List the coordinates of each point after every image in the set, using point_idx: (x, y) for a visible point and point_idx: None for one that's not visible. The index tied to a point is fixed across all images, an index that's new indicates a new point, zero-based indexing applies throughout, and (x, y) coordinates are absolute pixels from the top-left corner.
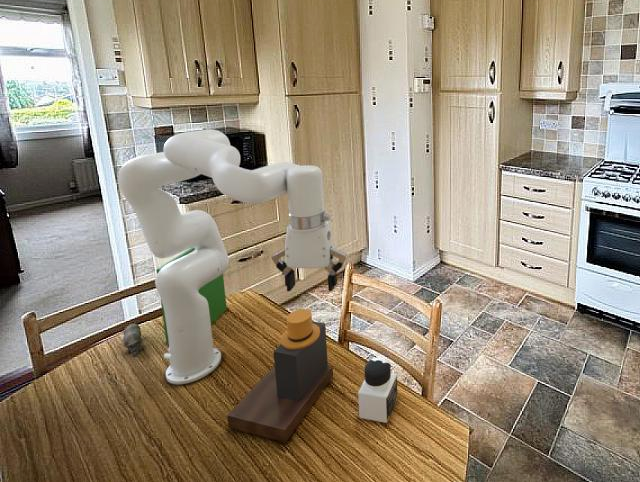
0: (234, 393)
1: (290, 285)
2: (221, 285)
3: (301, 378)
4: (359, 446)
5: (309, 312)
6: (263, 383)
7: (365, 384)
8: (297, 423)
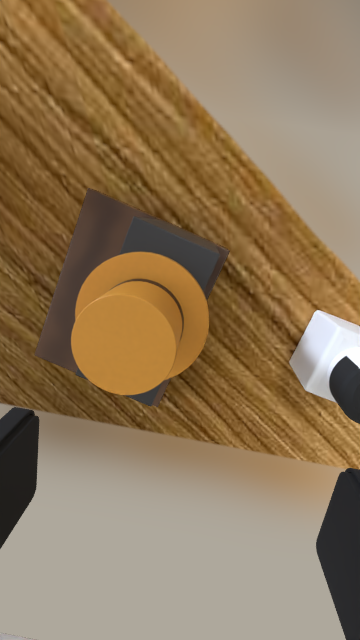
0: (16, 254)
1: (13, 519)
2: None
3: None
4: (288, 414)
5: (164, 330)
6: (72, 283)
7: (324, 376)
8: None
